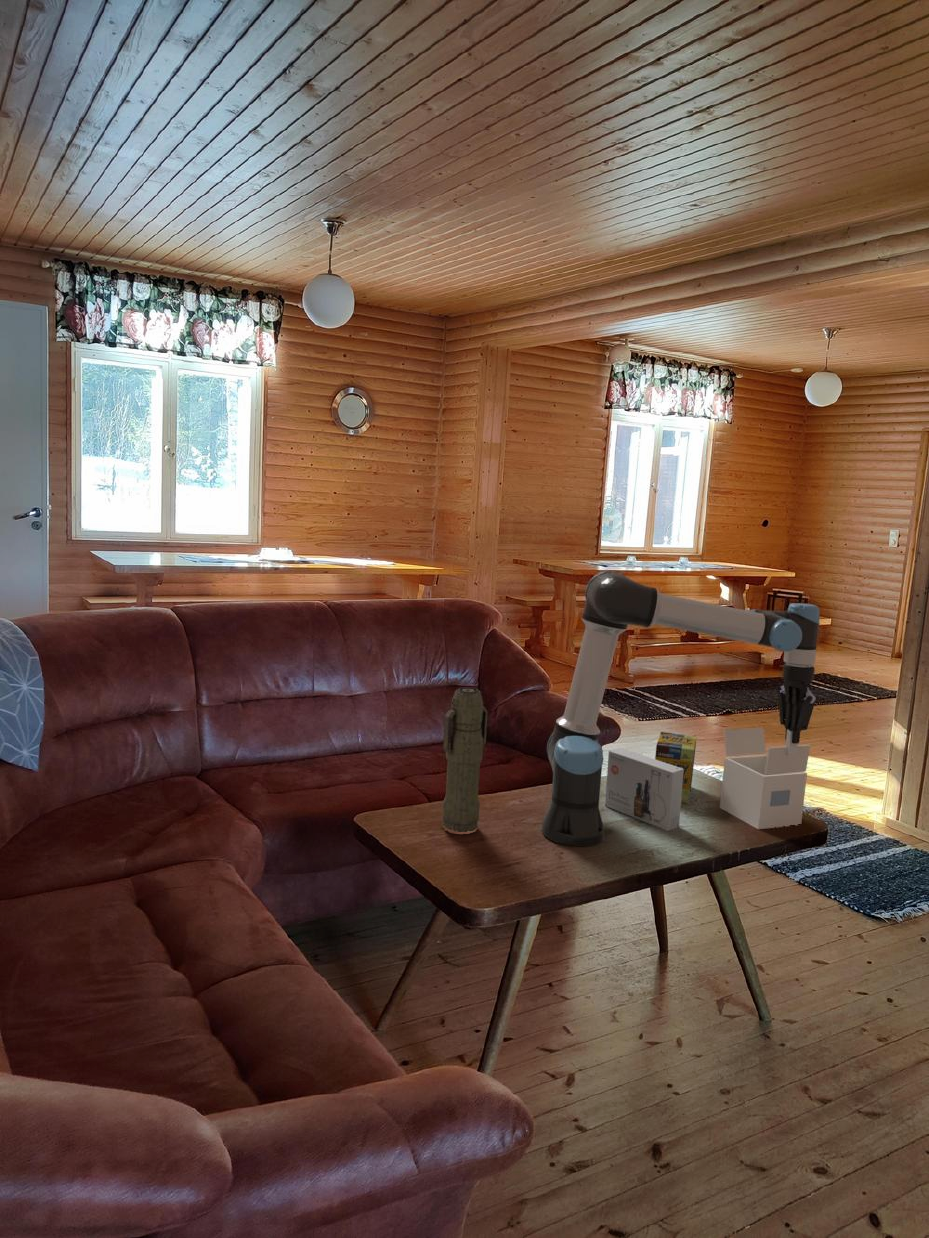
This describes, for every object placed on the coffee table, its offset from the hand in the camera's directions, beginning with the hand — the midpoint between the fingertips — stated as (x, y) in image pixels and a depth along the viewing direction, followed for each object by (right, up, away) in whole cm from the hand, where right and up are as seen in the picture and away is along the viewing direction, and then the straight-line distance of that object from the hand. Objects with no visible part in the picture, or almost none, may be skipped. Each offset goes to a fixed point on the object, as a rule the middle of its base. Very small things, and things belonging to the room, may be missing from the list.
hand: (790, 754), depth 230 cm
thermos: (-85, -17, -10) cm, 87 cm away
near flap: (-1, -1, +1) cm, 2 cm away
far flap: (-7, +1, +16) cm, 18 cm away
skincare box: (-38, -17, +6) cm, 42 cm away
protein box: (-24, -15, +27) cm, 39 cm away
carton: (-4, -18, +11) cm, 22 cm away
